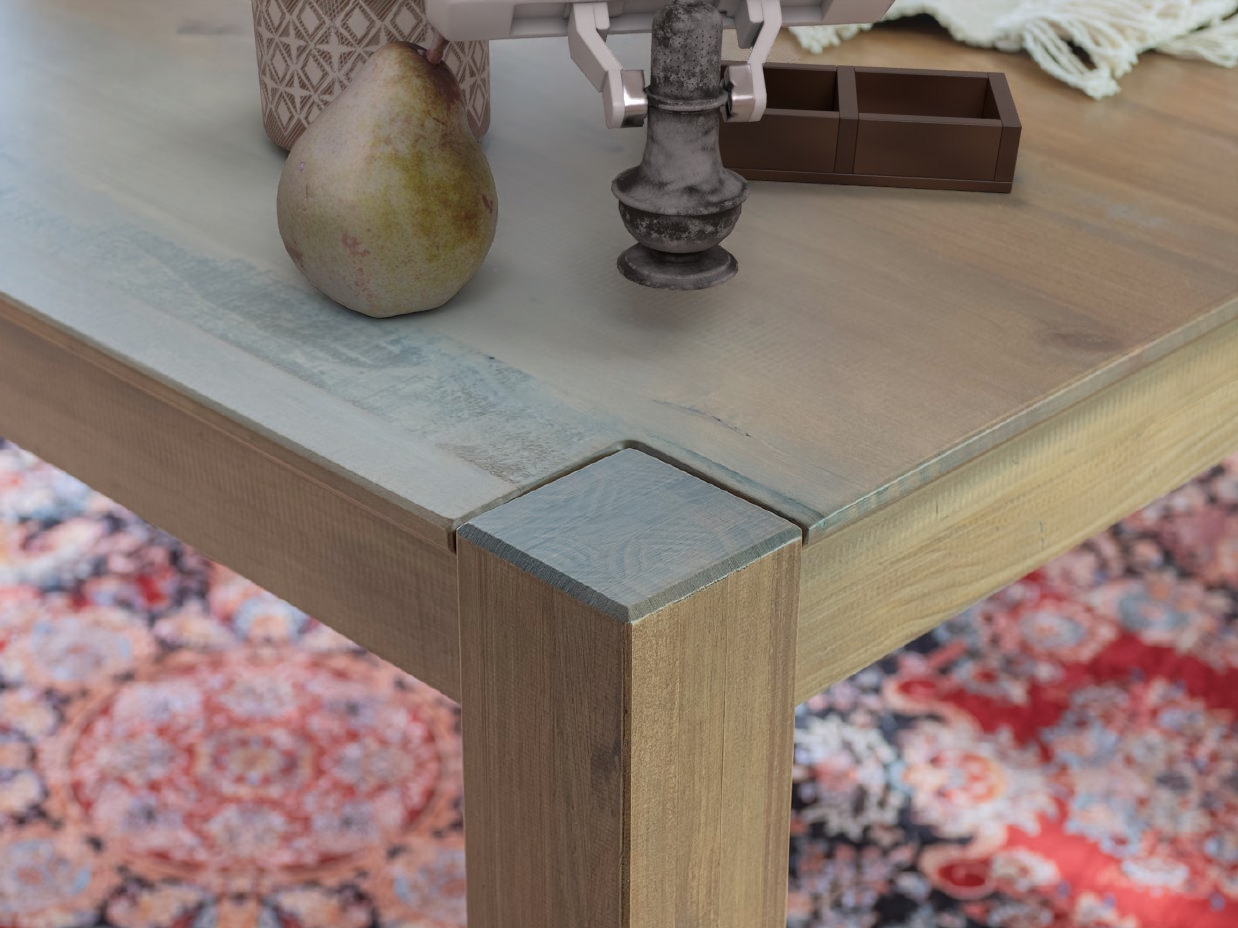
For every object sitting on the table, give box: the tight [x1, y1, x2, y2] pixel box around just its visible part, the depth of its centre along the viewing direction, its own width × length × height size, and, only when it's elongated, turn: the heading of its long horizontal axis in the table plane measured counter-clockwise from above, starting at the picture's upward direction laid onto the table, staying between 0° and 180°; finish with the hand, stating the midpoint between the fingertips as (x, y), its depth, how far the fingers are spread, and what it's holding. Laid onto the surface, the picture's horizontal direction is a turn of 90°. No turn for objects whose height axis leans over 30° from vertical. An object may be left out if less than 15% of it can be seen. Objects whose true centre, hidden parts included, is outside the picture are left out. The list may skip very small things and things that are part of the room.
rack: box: [718, 59, 1023, 194], centre depth 92 cm, size 18×10×4 cm, turn 84°
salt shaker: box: [610, 0, 751, 292], centre depth 68 cm, size 6×6×12 cm
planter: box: [250, 0, 491, 152], centre depth 91 cm, size 13×13×10 cm
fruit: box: [276, 29, 499, 319], centre depth 73 cm, size 10×9×12 cm
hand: (688, 118), depth 68 cm, fingers closed on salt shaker, 3 cm apart
